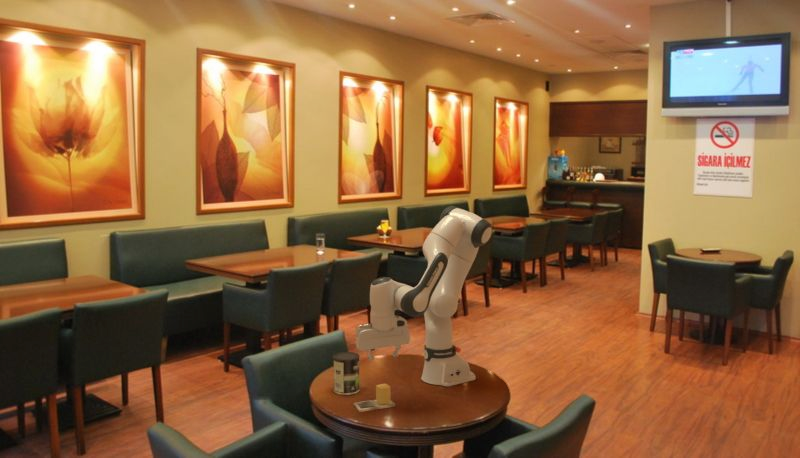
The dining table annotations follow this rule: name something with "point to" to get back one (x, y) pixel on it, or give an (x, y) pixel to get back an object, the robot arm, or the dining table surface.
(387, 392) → the yellow rectangular block
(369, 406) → the banknote
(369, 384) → the dining table surface
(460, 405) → the dining table surface
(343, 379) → the coffee can
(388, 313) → the robot arm
